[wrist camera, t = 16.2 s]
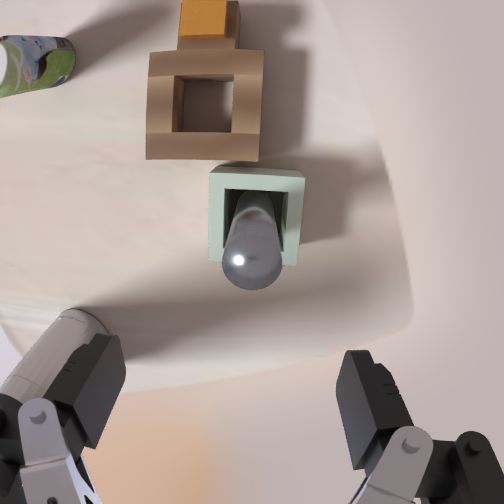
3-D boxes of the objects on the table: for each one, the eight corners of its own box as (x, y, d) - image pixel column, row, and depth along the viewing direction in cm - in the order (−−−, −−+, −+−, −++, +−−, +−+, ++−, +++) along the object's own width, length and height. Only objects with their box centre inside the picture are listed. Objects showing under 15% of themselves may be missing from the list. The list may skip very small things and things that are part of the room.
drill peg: (271, 225, 33) (279, 291, 20) (236, 223, 33) (221, 288, 20) (274, 190, 31) (284, 236, 18) (237, 188, 31) (222, 232, 18)
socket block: (258, 157, 30) (258, 161, 26) (158, 155, 30) (145, 159, 26) (266, 15, 25) (266, 1, 21) (166, 18, 25) (155, 5, 21)
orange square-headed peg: (230, 50, 26) (223, 34, 20) (192, 51, 26) (179, 35, 20) (232, 18, 24) (226, -3, 19) (195, 19, 24) (182, -1, 19)
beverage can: (79, 32, 25) (14, 7, 13) (82, 89, 27) (11, 82, 16) (38, 51, 25) (-30, 39, 14) (40, 106, 28) (-32, 109, 17)
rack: (291, 246, 34) (296, 265, 29) (215, 242, 34) (208, 261, 29) (298, 170, 31) (305, 177, 26) (217, 166, 31) (209, 172, 26)
